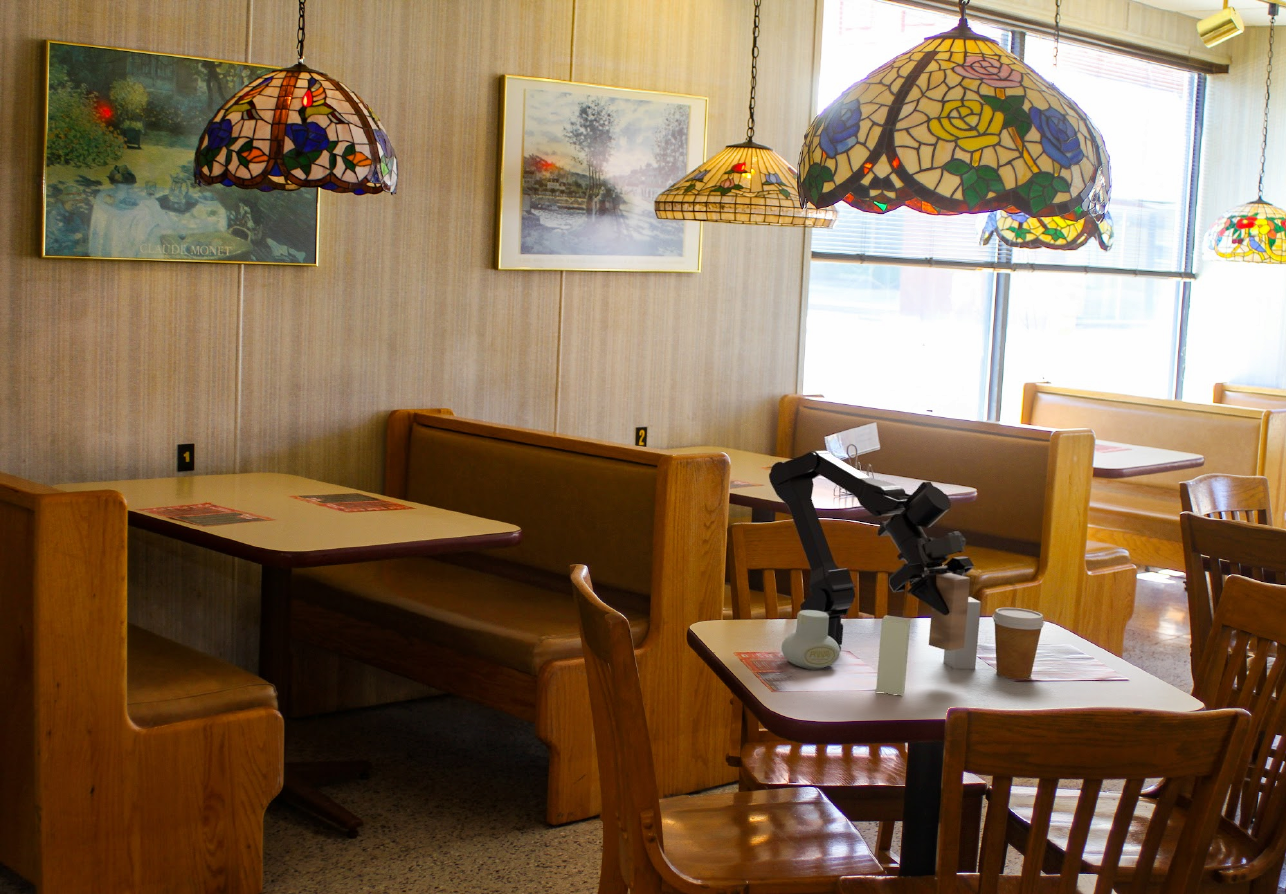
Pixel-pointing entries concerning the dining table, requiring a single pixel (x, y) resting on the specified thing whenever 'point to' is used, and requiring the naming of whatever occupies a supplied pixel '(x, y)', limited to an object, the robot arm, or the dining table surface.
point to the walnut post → (950, 613)
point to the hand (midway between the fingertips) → (955, 612)
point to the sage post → (893, 655)
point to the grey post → (966, 640)
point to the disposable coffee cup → (1016, 641)
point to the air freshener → (811, 642)
